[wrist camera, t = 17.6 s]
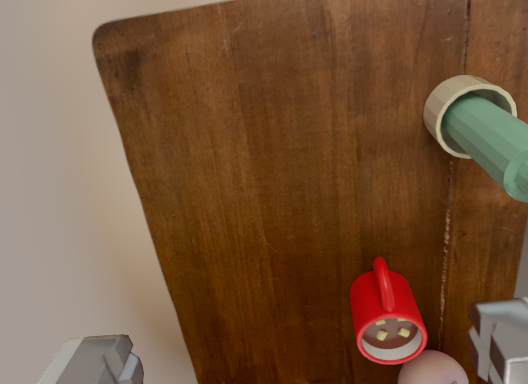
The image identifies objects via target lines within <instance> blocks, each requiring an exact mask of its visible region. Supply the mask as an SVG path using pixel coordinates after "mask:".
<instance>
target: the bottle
mask: <svg viewBox="0 0 528 384" xmlns="http://www.w3.org/2000/svg"><path fill="white" fill-rule="evenodd" d="M441 127H442V128H443V129H444V130H445V131H446V132H447V133H448V134H449V135H450V136H451V137H452V138H453V139H454V140H455V141H456V142H457V143H458V144H459V145H460V146H461V147H462V148H463V149H464V150H465V151H466V152H467V153H468V154H469V155H470V156H471V157H472V158H473V159H474V160H475V161H476V162H477V163H478V164H479V165H480V166H481V167H482V168H483V169H484V170H485V171H486V172H487V173H488V174H489V175H490V176H491V177H492V178H493V179H494V180H495V181H496V182H497V183H498V184H499V185H500V186H501V187H502V188H503V189H504V190H505V191H506V192H507V193H508V194H509V195H510V196H512V197H513V198H514V199H516V200H519V201H523V202H528V124H526V123H524V122H523V121H521V120H519V119H518V118H516V117H515V116H513V115H511V114H510V113H508V112H506V111H505V110H503V109H501V108H500V107H498V106H496V105H495V104H493V103H492V102H490V101H488V100H487V99H485V98H483V97H482V96H480V95H478V94H477V93H474V92H472V91H469V92H467V93H465V94H463V95H461V96H459V97H458V98H456V99H455V100H454V101H453V102H452V103H451V104H450V105H449V106H448V108H447V109H446V111H445V113H444V115H443V116H442V120H441Z"/></svg>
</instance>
